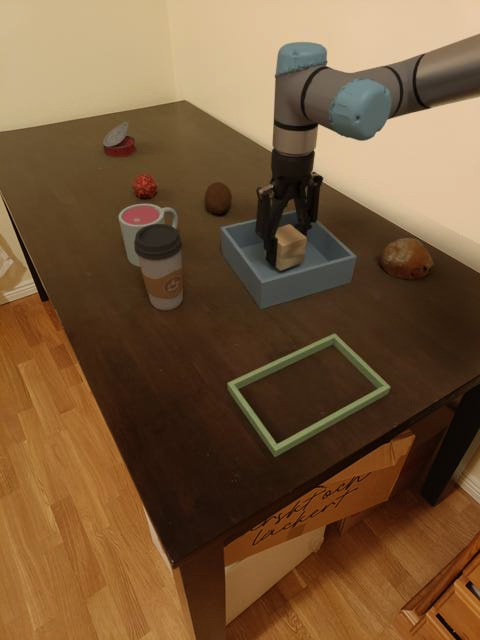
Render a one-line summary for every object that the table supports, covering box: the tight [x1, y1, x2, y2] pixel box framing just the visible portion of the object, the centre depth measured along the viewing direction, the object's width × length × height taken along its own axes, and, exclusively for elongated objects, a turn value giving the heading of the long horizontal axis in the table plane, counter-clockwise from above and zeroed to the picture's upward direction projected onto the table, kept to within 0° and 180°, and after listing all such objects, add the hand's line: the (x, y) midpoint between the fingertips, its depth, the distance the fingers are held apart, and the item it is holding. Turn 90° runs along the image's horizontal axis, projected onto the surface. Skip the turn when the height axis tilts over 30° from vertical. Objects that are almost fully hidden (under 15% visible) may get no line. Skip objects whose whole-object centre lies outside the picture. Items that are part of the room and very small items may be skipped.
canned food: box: [102, 121, 137, 158], centre depth 134 cm, size 11×10×10 cm
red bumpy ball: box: [131, 174, 159, 199], centre depth 113 cm, size 6×7×8 cm
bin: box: [219, 209, 358, 310], centre depth 90 cm, size 21×21×6 cm
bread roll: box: [379, 237, 435, 281], centre depth 90 cm, size 10×10×8 cm
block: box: [265, 224, 307, 271], centre depth 88 cm, size 6×6×6 cm
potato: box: [204, 181, 233, 215], centre depth 107 cm, size 7×10×7 cm
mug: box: [118, 203, 179, 268], centre depth 93 cm, size 14×9×10 cm
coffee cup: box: [134, 223, 184, 312], centre depth 79 cm, size 8×8×15 cm
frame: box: [227, 332, 392, 458], centre depth 67 cm, size 22×14×2 cm, turn 120°
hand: (284, 257), depth 90 cm, fingers closed on block, 6 cm apart
